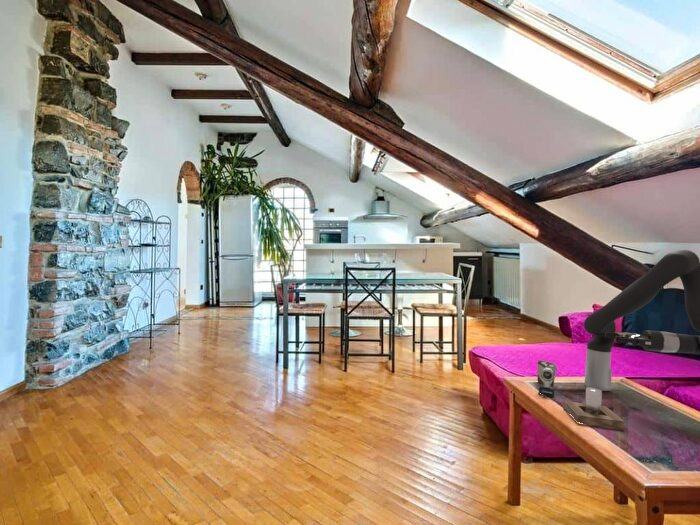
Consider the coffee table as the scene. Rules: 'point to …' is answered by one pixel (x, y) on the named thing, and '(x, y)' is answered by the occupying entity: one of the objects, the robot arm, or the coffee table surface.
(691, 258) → the robot arm
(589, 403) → the ribbed metal cylinder
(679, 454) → the coffee table surface
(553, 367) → the food container
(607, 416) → the walnut socket block
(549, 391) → the watch
